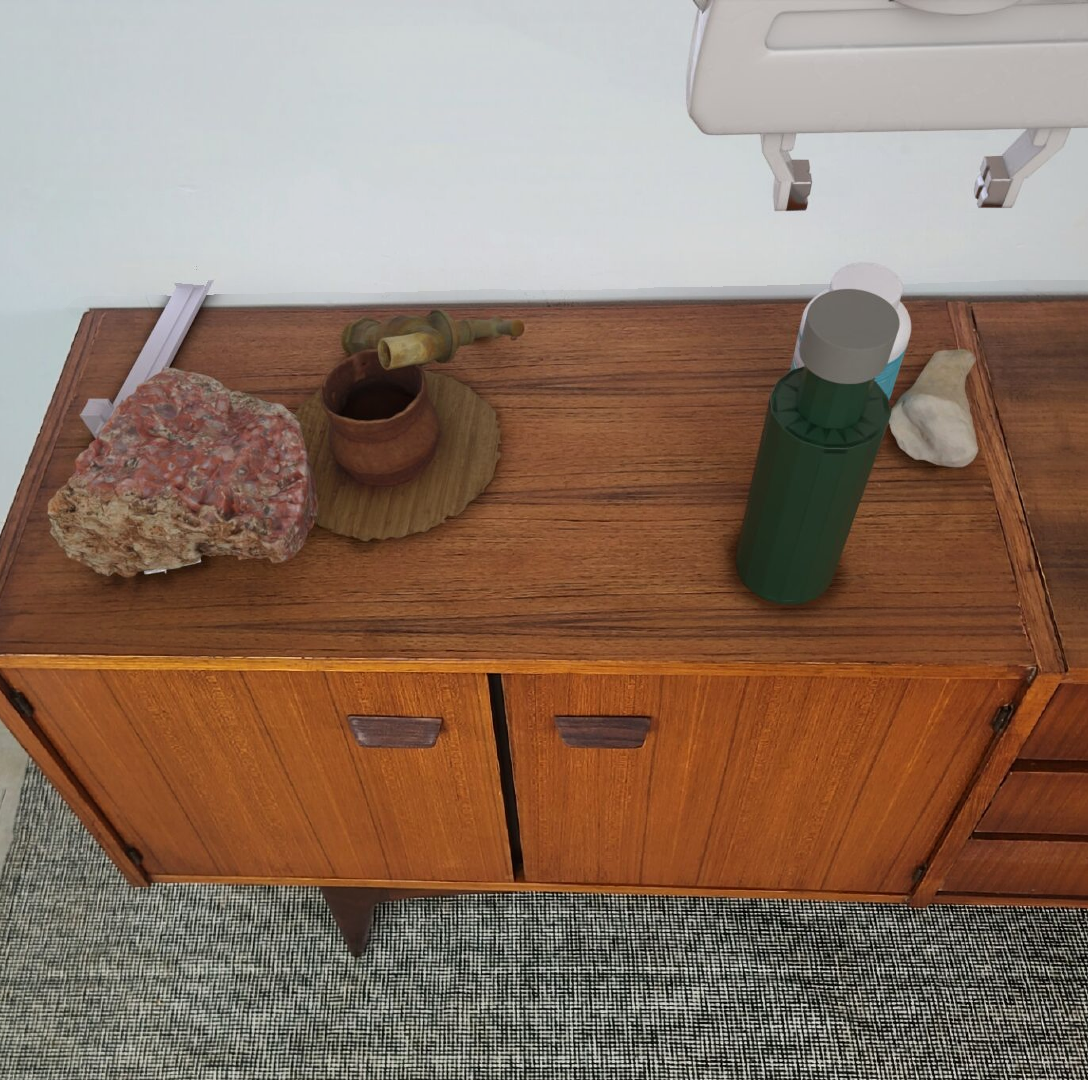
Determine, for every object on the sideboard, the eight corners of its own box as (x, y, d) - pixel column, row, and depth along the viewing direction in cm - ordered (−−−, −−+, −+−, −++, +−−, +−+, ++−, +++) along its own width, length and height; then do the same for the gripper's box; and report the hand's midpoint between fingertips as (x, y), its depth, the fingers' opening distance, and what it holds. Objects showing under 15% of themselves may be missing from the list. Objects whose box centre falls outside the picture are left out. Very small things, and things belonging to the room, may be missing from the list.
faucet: (294, 321, 86) (448, 300, 94) (302, 374, 88) (453, 348, 96) (388, 324, 75) (553, 300, 83) (395, 384, 76) (557, 355, 84)
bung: (876, 343, 62) (893, 288, 58) (887, 404, 59) (905, 350, 56) (790, 343, 62) (803, 288, 59) (798, 403, 59) (811, 349, 56)
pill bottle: (884, 400, 84) (932, 258, 73) (870, 469, 80) (919, 331, 69) (788, 381, 86) (821, 240, 75) (770, 448, 82) (802, 310, 71)
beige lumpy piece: (969, 478, 79) (989, 433, 75) (881, 468, 80) (896, 423, 76) (968, 372, 85) (986, 325, 81) (886, 363, 86) (900, 316, 82)
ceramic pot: (227, 471, 84) (202, 408, 78) (375, 339, 91) (361, 272, 85) (404, 579, 77) (391, 518, 71) (548, 427, 84) (546, 360, 78)
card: (145, 579, 78) (144, 577, 78) (140, 553, 80) (138, 550, 80) (265, 541, 80) (264, 538, 79) (257, 516, 81) (256, 513, 81)
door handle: (172, 250, 95) (202, 249, 94) (186, 277, 97) (215, 276, 97) (73, 426, 83) (107, 426, 83) (91, 452, 86) (124, 452, 85)
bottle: (828, 527, 77) (899, 312, 61) (838, 606, 74) (916, 398, 57) (733, 525, 78) (777, 311, 62) (738, 603, 74) (786, 397, 58)
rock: (152, 435, 87) (69, 581, 78) (117, 340, 78) (19, 492, 70) (355, 471, 84) (291, 626, 76) (340, 378, 76) (267, 540, 68)
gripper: (697, -66, 39) (671, 247, 51) (1294, -89, 37) (1127, 242, 49) (691, -143, 43) (668, 166, 54) (1236, -168, 41) (1093, 158, 52)
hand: (889, 202), depth 51 cm, fingers open, 8 cm apart
